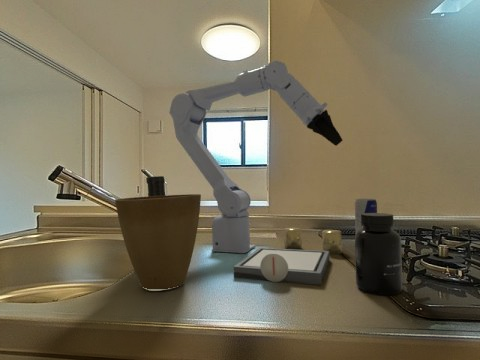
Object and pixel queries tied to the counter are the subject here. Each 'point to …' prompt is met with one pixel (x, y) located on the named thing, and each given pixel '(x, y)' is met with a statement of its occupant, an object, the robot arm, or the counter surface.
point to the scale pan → (290, 259)
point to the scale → (281, 268)
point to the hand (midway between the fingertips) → (338, 142)
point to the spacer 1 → (293, 238)
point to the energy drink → (363, 210)
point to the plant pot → (160, 236)
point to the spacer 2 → (332, 241)
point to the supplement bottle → (378, 255)
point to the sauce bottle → (155, 186)
